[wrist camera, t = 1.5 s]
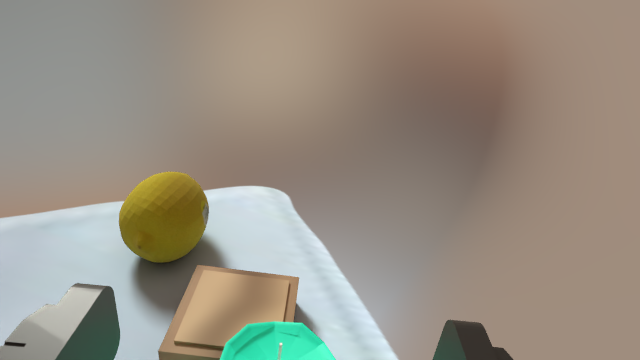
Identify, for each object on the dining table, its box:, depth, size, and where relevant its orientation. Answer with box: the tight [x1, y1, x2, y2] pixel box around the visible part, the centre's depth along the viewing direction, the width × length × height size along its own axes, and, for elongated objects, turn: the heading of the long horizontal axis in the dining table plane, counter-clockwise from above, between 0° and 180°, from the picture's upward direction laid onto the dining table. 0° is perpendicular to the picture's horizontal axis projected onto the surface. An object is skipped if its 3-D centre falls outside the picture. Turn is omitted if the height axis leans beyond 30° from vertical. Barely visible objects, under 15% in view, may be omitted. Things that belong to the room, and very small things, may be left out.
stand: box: [158, 265, 299, 360], centre depth 34 cm, size 9×9×3 cm
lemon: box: [119, 172, 209, 263], centre depth 41 cm, size 11×8×8 cm
